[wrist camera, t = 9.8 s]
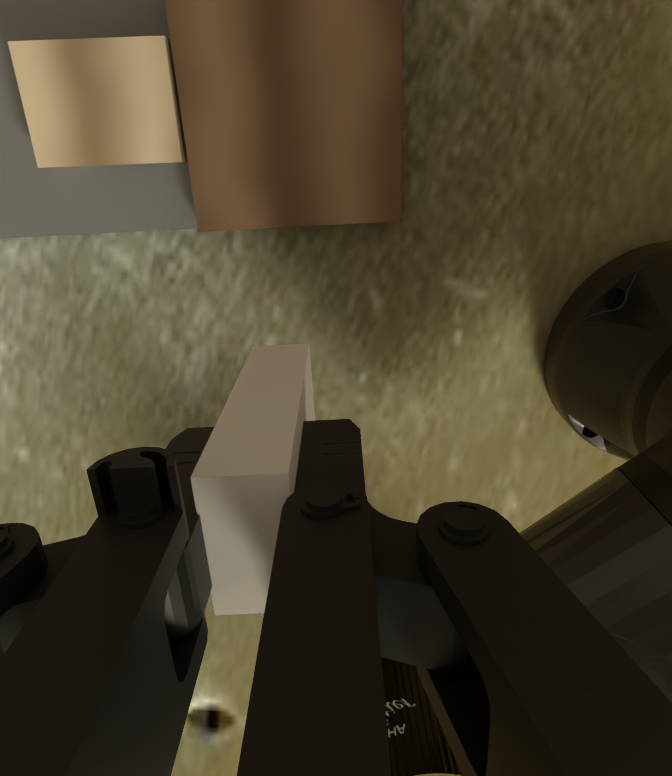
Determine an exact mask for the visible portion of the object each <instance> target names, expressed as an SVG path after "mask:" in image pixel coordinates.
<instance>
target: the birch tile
mask: <svg viewBox="0 0 672 776" xmlns="http://www.w3.org/2000/svg"><path fill="white" fill-rule="evenodd" d="M7 42H8V46H9V50H10V54H11V58H12V62H13V67H14V71H15V75H16V79H17V83H18V87H19V91H20V96H21V100H22V104H23V108H24V112H25V116H26V120H27V125H28V129H29V133H30V137H31V141H32V145H33V150H34V154H35V158H36V162H37V166H38V168H47V167H73V166H98V165H123V164H149V163H174V162H188V158H187V151H186V144H185V137H184V131H183V124H182V117H181V110H180V103H179V97H178V90H177V83H176V76H175V69H174V63H173V56H172V49H171V42H170V39H168V38H167V37H166V36H138V37H110V38H83V39H56V40H29V41H7Z"/></svg>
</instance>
